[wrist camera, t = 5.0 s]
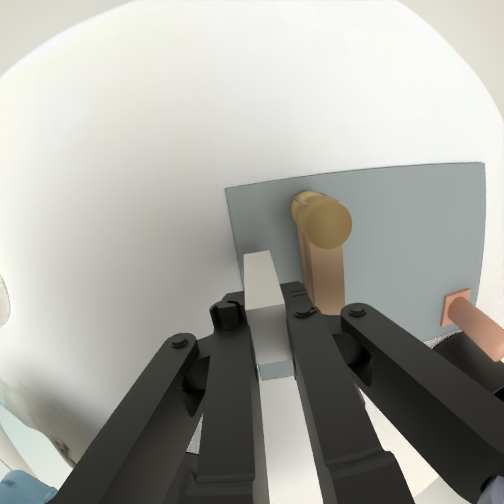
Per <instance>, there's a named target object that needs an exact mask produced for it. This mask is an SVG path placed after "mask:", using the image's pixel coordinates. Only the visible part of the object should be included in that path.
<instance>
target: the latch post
mask: <svg viewBox="0 0 504 504" xmlns="http://www.w3.org/2000/svg"><path fill="white" fill-rule="evenodd" d="M470 292H471V289H470V288H466V289H463V290H460V291H457V292H454V293H450V294H447V295H444V302H443V309H442V315H441V322H440V326H441V327H444V326H447V325H450V324H452V323H455V324H456V325H457V326H458V327H459V328H460V329H461V330H462V331H463V332H464V333H465V334H466V335H467V336H469V337H470V338H471V339H472V340H473V341H474V342H475V343H476V344H477V345H478V346H479V347H480V348H481V349H482V350H483V351H484V352H485V353H486V354H487V355H488V356H489V357H490V358H491V359H492V360H493V361H494V362H497V361H499V360H501V359H502V358H503V357H504V329H503V328H502V327H500V326H499V325H498V324H497V323H495V322H494V321H493V320H492V319H491V318H489V317H488V316H487V315H486V314H484V313H483V312H482V311H480V310H479V309H478V308H477V307H475V306H474V305H473V304H472V303H470V302H469V299H470Z"/></svg>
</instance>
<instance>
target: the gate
mask: <svg viewBox="0 0 504 504" xmlns="http://www.w3.org/2000/svg"><path fill="white" fill-rule="evenodd" d="M293 198H294V200H293V202H292V204H291V216H292V219H293V220H294V222H295V223H296V224H297V229H298V237H299V245H300V254H301V263H302V272H303V281H304V286H305V288H306V291H307V293H308V295H309V297H310V299H311V301H312V303H313V306H316V307H318V308H319V309H320V311H321V313H322V314H326V315H340V312H341V309H342V308H343V307H344V306H345V284H344V263H343V247H342V244H343V243H344V242H345V241H346V240H347V239H348V237H349V235H350V233H351V230H352V218H351V215H350V213H349V211H348V210H347V209H346V208H345V207H344V206H343V205H342V204H340V203H339V200H337V199H335V198H333V197H330V196H328V195H326V194H324V193H322V192H320V193H317V192H314V191H305V192H302V193H300V194H299V195H297V196H293Z"/></svg>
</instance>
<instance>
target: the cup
mask: <svg viewBox="0 0 504 504" xmlns="http://www.w3.org/2000/svg"><path fill="white" fill-rule="evenodd" d="M9 315H10V303H9V297H8V293H7V290H6V287H5V284H4V282H3V280H2V278H1V276H0V328H1V327H2V326H3V325H4V324H5V323H6V322H7V320H8V318H9Z"/></svg>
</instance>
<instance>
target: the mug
mask: <svg viewBox="0 0 504 504" xmlns="http://www.w3.org/2000/svg"><path fill="white" fill-rule="evenodd" d="M433 350H434V351H435V352H437V353H438V354H439V355H441V356H442V357H444V358H445V359H446V360H448V361H449V362H450V363H452V364H453V365H454V366H456V367H457V368H459V369H460V370H461V371H463V372H464V373H465V374H467V375H468V376H469V377H471V378H472V379H473V380H475V381H476V382H477V383H479V384H480V385H481V386H483V387H484V388H485V389H487V390H488V391H489V392H491V393H492V394H493V395H495V396H496V397H497V398H499V399H500V400H501V401H503V402H504V363H503V362H502V361H501V360H499V361H497V362H494V361H493V360H492V359H491V358H490V357H489V356H488V355H487V354H486V353H485V352H484V351H483V350H482V349H481V348H480V347H479V346H478V345H477V344H476V343H475V342H474V341H473V340H472V339H471V338H470V337H469V336H467V335H466V334H465V333H459V334H456V335H454V336H451V337H449V338H448V339H446V340H445V341H443V342H442V343H440V344H439V345H438V346H437V347H436V348H434V349H433Z"/></svg>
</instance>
